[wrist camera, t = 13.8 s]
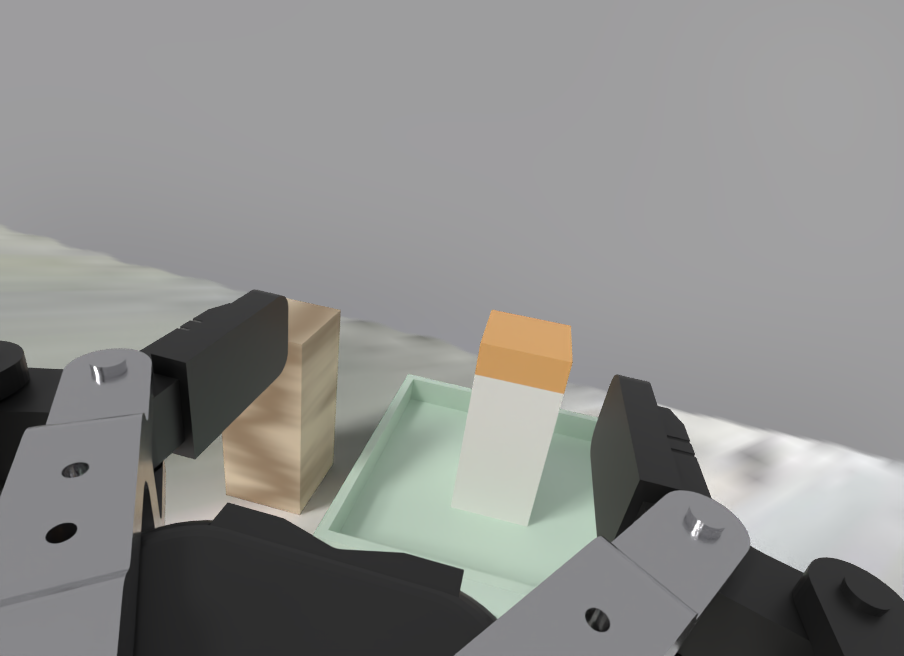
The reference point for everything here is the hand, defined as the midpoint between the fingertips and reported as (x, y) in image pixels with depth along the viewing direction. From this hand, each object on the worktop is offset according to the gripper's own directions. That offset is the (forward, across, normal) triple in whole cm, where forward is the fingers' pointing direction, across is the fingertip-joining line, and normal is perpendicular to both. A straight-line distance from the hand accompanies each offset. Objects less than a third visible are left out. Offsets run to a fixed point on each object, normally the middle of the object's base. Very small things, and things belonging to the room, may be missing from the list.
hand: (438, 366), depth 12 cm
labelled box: (+16, -3, +18) cm, 25 cm away
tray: (+16, -3, +19) cm, 25 cm away
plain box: (+13, +11, +19) cm, 26 cm away
